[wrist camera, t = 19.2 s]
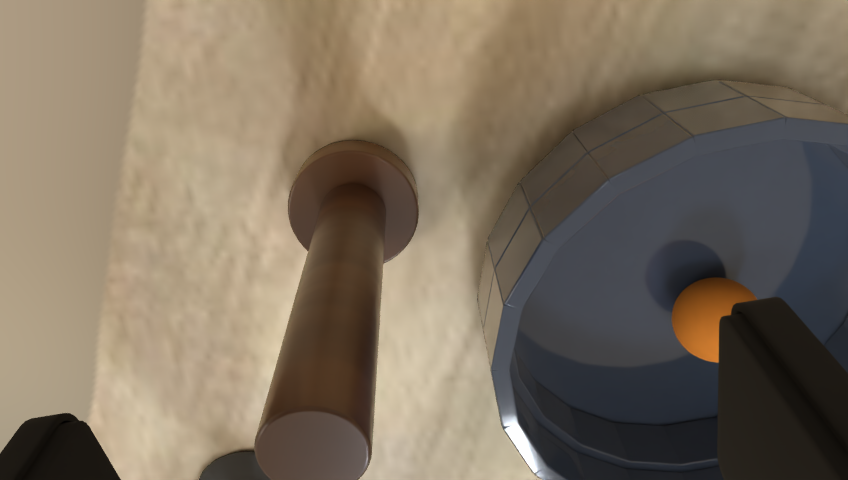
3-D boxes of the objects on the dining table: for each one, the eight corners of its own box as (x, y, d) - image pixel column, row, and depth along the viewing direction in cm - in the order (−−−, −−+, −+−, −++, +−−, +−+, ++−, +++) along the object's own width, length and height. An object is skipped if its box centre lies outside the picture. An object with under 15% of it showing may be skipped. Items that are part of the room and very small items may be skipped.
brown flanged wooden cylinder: (276, 153, 22) (156, 383, 12) (403, 127, 22) (402, 337, 11) (312, 264, 24) (238, 550, 14) (429, 241, 24) (449, 515, 13)
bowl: (443, 128, 22) (453, 183, 18) (908, 33, 21) (1042, 66, 17) (508, 457, 29) (527, 557, 24) (863, 396, 28) (950, 489, 23)
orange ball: (681, 378, 24) (667, 304, 26) (770, 369, 23) (750, 293, 25) (678, 349, 22) (663, 269, 23) (777, 338, 21) (755, 256, 23)
